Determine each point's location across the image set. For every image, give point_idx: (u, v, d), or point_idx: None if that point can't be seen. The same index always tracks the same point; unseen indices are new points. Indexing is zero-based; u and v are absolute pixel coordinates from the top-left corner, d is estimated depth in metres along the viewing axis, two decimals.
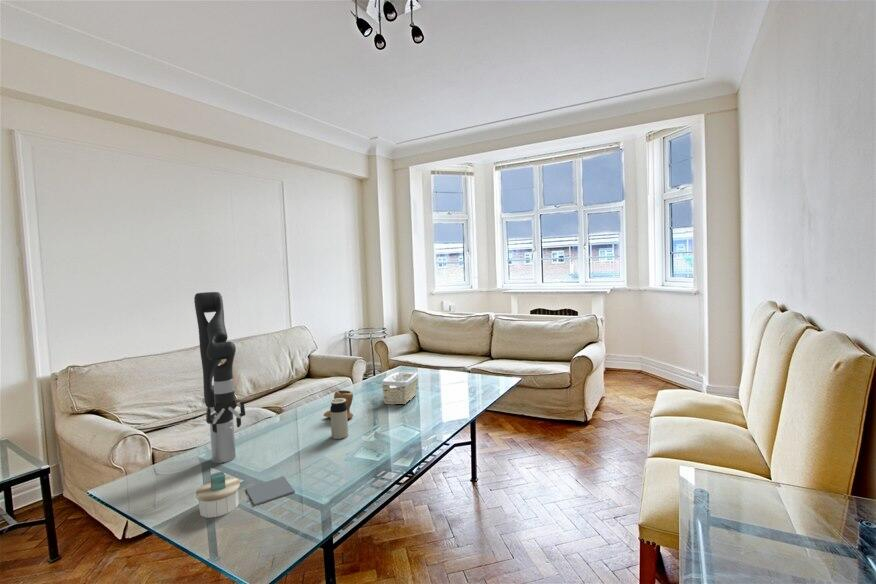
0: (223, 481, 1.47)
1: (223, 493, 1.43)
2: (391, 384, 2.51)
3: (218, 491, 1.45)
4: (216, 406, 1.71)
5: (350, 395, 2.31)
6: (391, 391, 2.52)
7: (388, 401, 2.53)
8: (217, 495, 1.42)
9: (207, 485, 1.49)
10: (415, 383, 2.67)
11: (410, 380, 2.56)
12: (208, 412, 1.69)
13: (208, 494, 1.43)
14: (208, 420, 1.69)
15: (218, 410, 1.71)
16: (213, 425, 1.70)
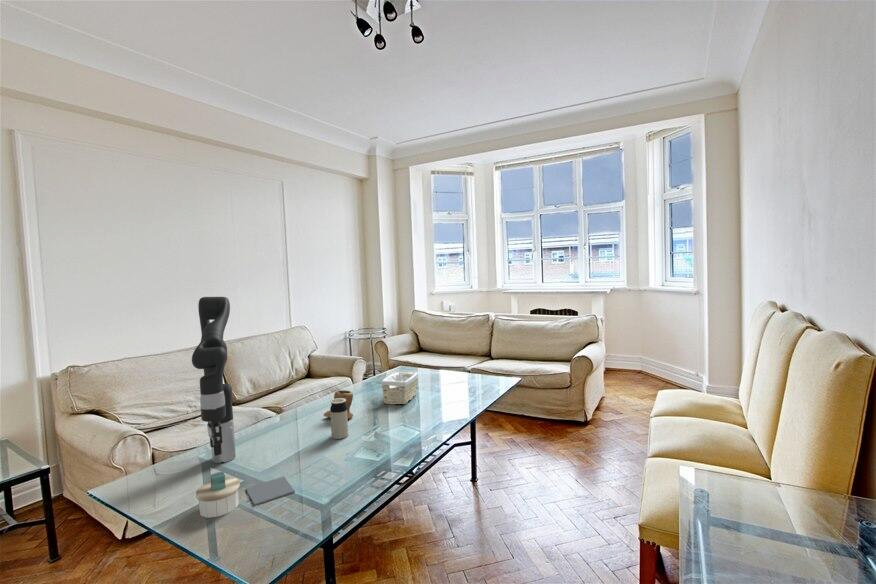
0: (223, 481, 1.47)
1: (223, 493, 1.43)
2: (391, 384, 2.51)
3: (218, 491, 1.45)
4: (218, 422, 1.44)
5: (350, 395, 2.31)
6: (391, 391, 2.52)
7: (388, 401, 2.54)
8: (217, 495, 1.42)
9: (207, 485, 1.49)
10: (415, 383, 2.67)
11: (410, 380, 2.56)
12: None
13: (208, 494, 1.43)
14: (222, 439, 1.42)
15: None
16: (219, 445, 1.43)
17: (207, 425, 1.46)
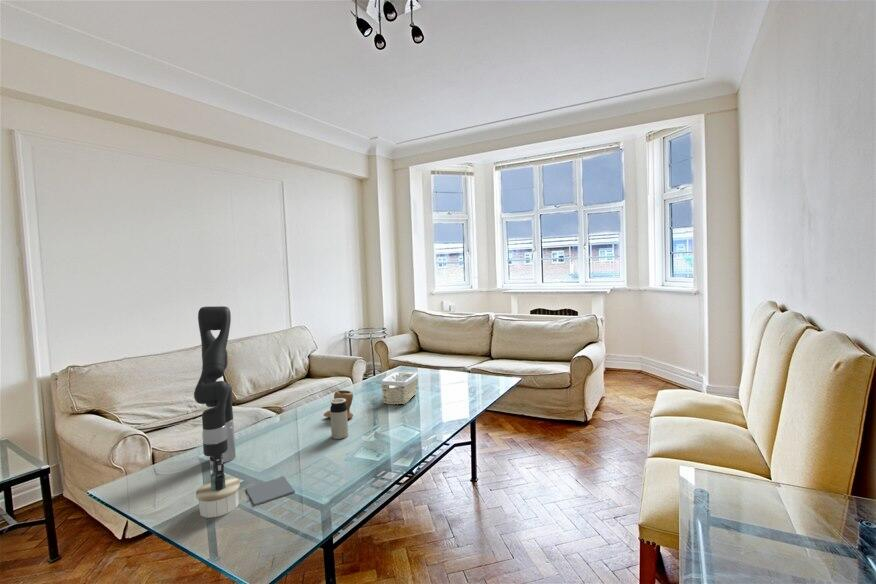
0: (223, 481, 1.47)
1: (223, 493, 1.43)
2: (390, 384, 2.51)
3: (218, 491, 1.45)
4: (220, 457, 1.44)
5: (350, 395, 2.31)
6: (390, 391, 2.53)
7: (387, 401, 2.54)
8: (217, 495, 1.42)
9: (207, 485, 1.49)
10: (415, 383, 2.67)
11: (409, 380, 2.56)
12: None
13: (208, 494, 1.43)
14: None
15: (221, 462, 1.45)
16: (221, 480, 1.45)
17: (209, 459, 1.47)
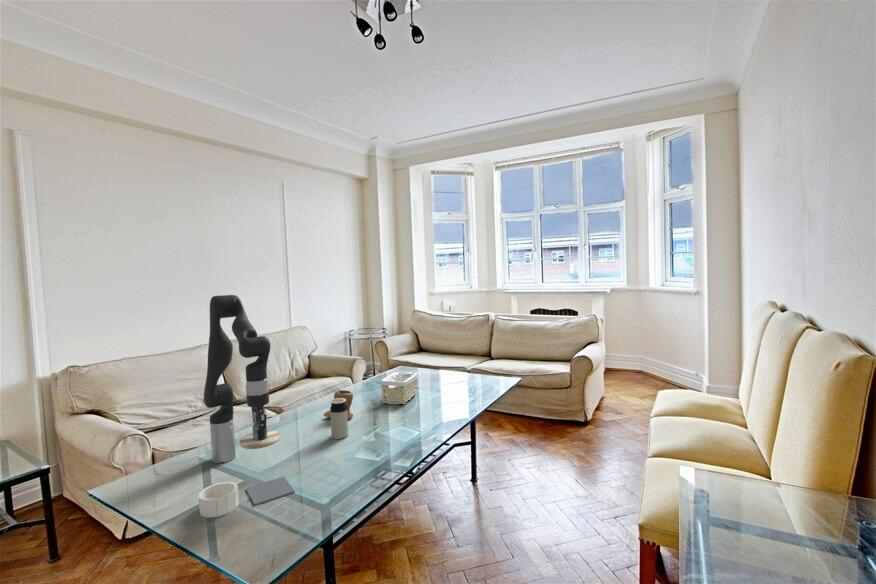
0: (265, 432, 1.54)
1: (266, 442, 1.51)
2: (390, 384, 2.51)
3: (261, 440, 1.52)
4: (263, 408, 1.52)
5: (350, 395, 2.31)
6: (390, 391, 2.53)
7: (387, 401, 2.54)
8: (260, 443, 1.50)
9: (250, 436, 1.56)
10: (414, 383, 2.67)
11: (409, 380, 2.56)
12: None
13: (251, 443, 1.50)
14: (265, 424, 1.52)
15: None
16: (263, 430, 1.53)
17: (252, 410, 1.54)
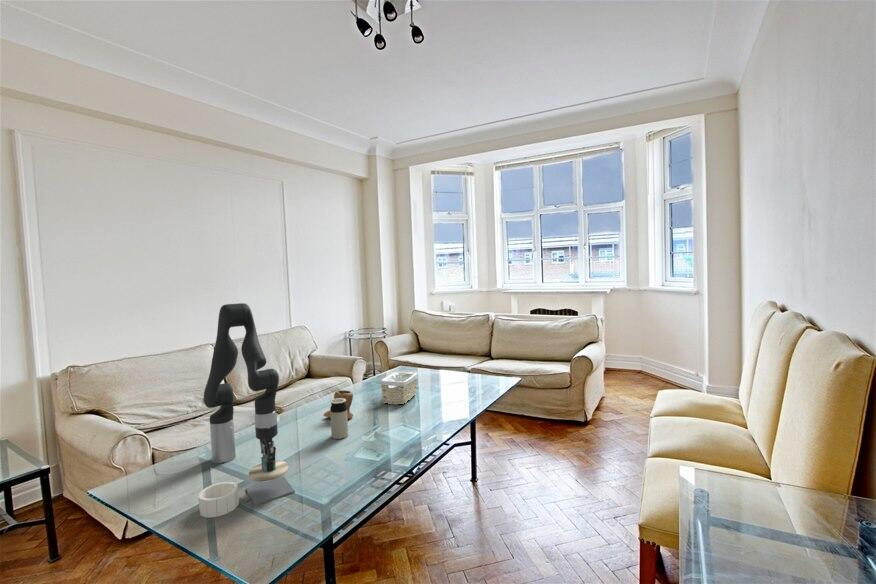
0: (273, 463, 1.56)
1: (275, 474, 1.53)
2: (390, 384, 2.51)
3: (269, 472, 1.54)
4: None
5: (350, 395, 2.31)
6: (390, 391, 2.53)
7: (387, 401, 2.54)
8: (269, 476, 1.52)
9: (258, 467, 1.58)
10: (414, 383, 2.67)
11: (409, 380, 2.56)
12: None
13: (260, 475, 1.53)
14: (274, 456, 1.54)
15: None
16: None
17: (260, 442, 1.56)
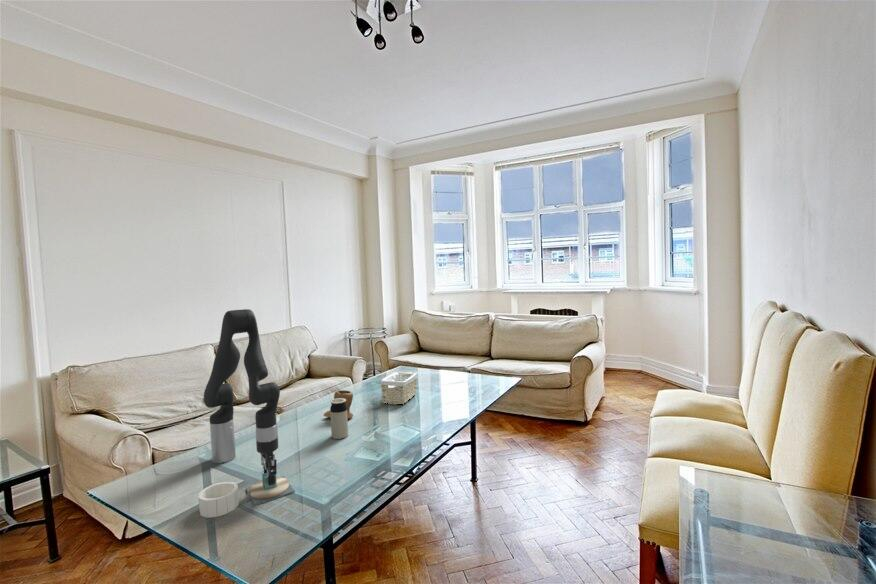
0: None
1: (276, 491, 1.53)
2: (389, 384, 2.52)
3: (270, 490, 1.55)
4: (272, 454, 1.55)
5: (350, 395, 2.31)
6: (389, 391, 2.53)
7: (387, 401, 2.54)
8: (270, 493, 1.52)
9: (259, 484, 1.59)
10: (414, 383, 2.67)
11: (409, 380, 2.56)
12: None
13: (261, 492, 1.53)
14: None
15: None
16: (273, 476, 1.55)
17: (261, 456, 1.57)
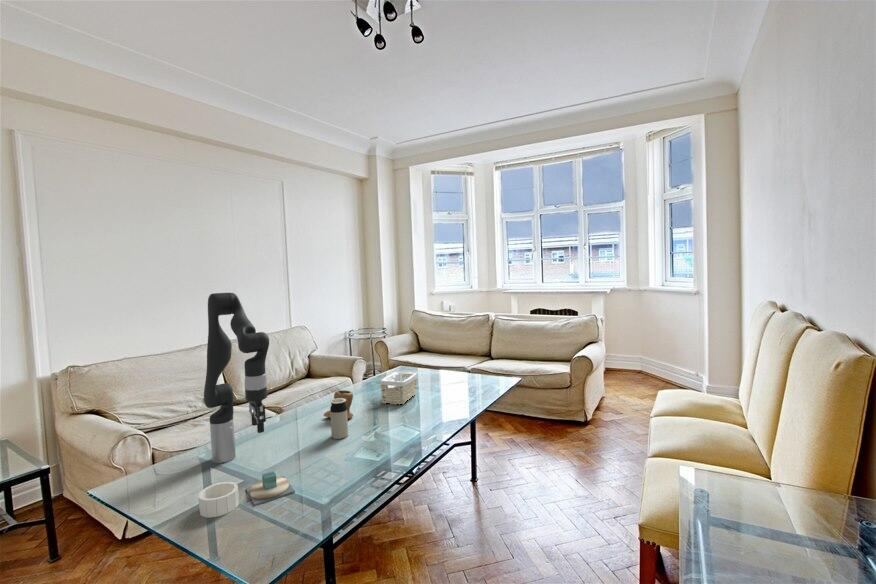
0: (274, 480, 1.57)
1: (276, 491, 1.53)
2: (389, 384, 2.52)
3: (270, 490, 1.55)
4: (261, 402, 1.55)
5: (350, 395, 2.31)
6: (389, 391, 2.53)
7: (386, 401, 2.54)
8: (270, 493, 1.52)
9: (259, 484, 1.59)
10: (414, 383, 2.67)
11: (408, 380, 2.56)
12: None
13: (261, 492, 1.53)
14: None
15: None
16: (262, 424, 1.54)
17: (250, 405, 1.57)
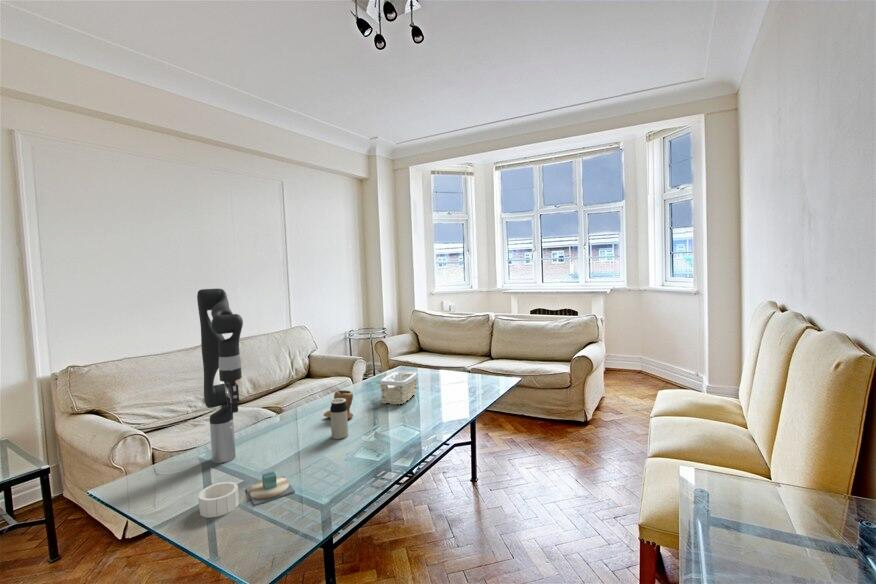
0: (274, 480, 1.57)
1: (276, 491, 1.53)
2: (389, 384, 2.52)
3: (270, 490, 1.55)
4: (235, 383, 1.58)
5: (350, 395, 2.31)
6: (389, 391, 2.53)
7: (386, 401, 2.54)
8: (270, 493, 1.52)
9: (259, 484, 1.59)
10: (414, 383, 2.67)
11: (408, 380, 2.56)
12: None
13: (261, 492, 1.53)
14: (238, 397, 1.55)
15: None
16: (236, 403, 1.57)
17: (225, 386, 1.60)
